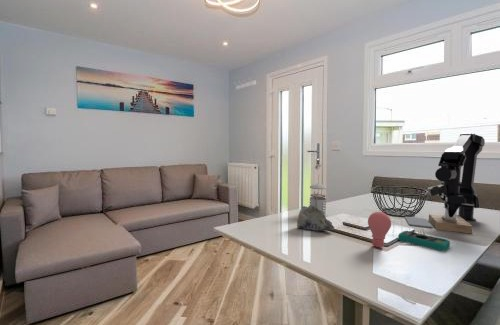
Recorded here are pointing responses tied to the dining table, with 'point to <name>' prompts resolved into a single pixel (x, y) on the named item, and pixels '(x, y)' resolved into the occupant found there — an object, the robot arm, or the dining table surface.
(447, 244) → the digital multimeter
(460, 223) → the walnut socket block
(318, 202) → the french press
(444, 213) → the steel peg
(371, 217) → the light bulb
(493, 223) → the dining table surface
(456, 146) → the robot arm
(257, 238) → the dining table surface
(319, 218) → the mineral rock
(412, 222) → the grey flat slab
